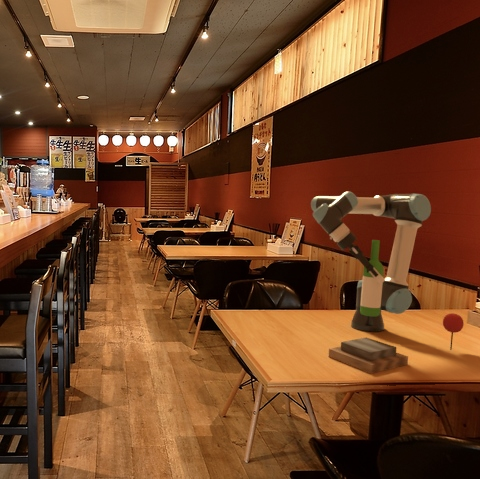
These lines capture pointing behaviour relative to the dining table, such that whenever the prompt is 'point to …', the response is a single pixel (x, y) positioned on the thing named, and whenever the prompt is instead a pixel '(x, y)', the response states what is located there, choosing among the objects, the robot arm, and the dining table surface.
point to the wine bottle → (372, 285)
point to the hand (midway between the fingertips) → (381, 280)
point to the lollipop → (453, 324)
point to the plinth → (368, 363)
